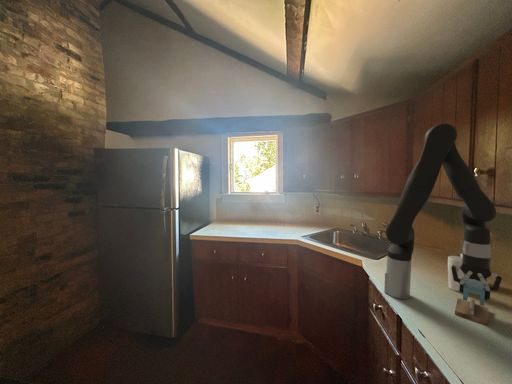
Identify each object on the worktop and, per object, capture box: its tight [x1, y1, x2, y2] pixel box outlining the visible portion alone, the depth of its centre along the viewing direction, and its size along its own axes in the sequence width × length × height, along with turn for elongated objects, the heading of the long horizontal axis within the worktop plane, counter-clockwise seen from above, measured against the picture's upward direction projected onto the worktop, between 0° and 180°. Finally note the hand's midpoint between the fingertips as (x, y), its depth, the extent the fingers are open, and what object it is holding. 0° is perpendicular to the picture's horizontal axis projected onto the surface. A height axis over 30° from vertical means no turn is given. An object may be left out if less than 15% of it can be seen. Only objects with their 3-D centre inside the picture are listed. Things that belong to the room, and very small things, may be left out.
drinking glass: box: [447, 255, 464, 292], centre depth 103 cm, size 7×7×15 cm
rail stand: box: [454, 297, 490, 326], centre depth 86 cm, size 9×12×4 cm
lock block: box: [462, 279, 486, 306], centre depth 85 cm, size 10×6×5 cm, turn 133°
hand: (474, 295), depth 85 cm, fingers closed on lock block, 5 cm apart
